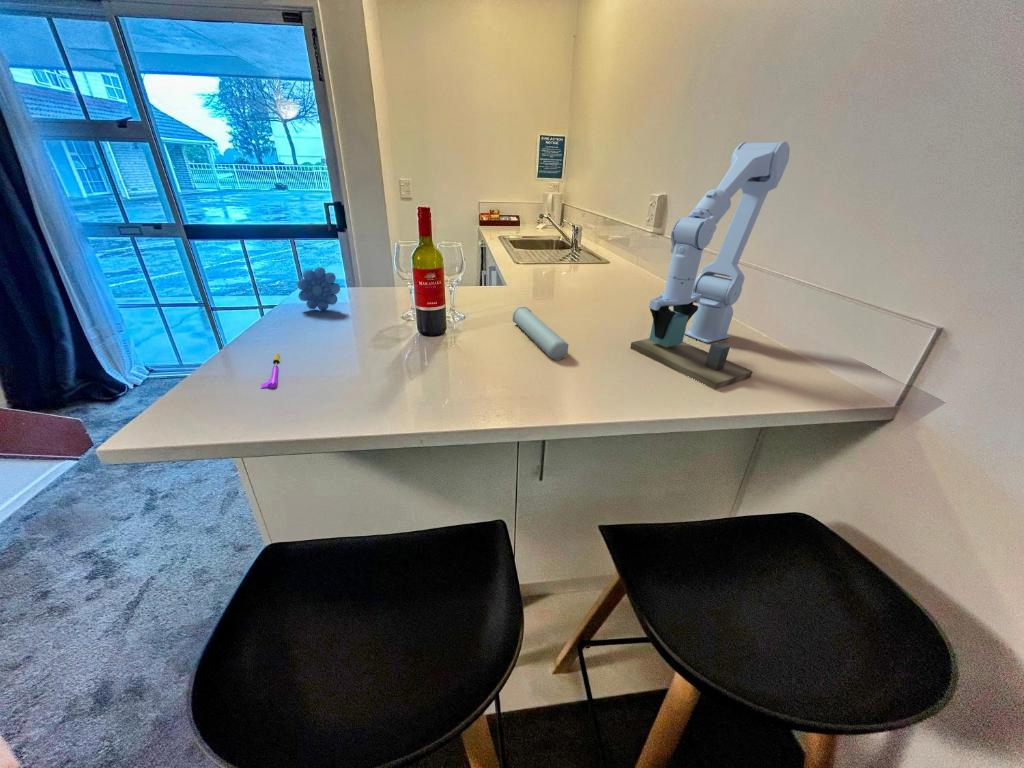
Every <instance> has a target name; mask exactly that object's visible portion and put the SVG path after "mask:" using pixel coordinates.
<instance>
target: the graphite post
mask: <svg viewBox="0 0 1024 768" xmlns="http://www.w3.org/2000/svg"><path fill="white" fill-rule="evenodd" d="M730 348H731V346H729V345H727V344H724V343H722V342H721V341H720V342H719V341H718V342H715V343H711V344H710V347H709V351H708V357H707V360H706V363H705V366H706V367H708V368H710V369H712V370H714V371H717V370H720V369H723V368H724V365H725V362H726V360H728V359H727V357H728V355H729V353H730Z"/></svg>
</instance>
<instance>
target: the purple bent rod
mask: <svg viewBox="0 0 1024 768" xmlns="http://www.w3.org/2000/svg"><path fill="white" fill-rule="evenodd" d="M280 358H281V355H280V352H278V353H275V354H274V357H273V361H272V363H273V364H274V365H273V367H272V369H271V371H272V372H271V378H269V379H268V380H267V382H263V383H261V384H260V385H261V386H260V390H263V389H276V388H278V377H279V376H278V375H279V367H278V366H277V365H278V362H279V363H280Z"/></svg>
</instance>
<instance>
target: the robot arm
mask: <svg viewBox="0 0 1024 768" xmlns="http://www.w3.org/2000/svg"><path fill="white" fill-rule="evenodd" d="M789 159H790V144H789V143H788V141H785V140H784V141H780V142H779V141H778V142H776V141H775V142H746V141H743V142H740V143H739V144H738V145H737V146H736V148H735V149H734V151H733V153H732V155H731V158H730V164H729V166H730V167H729V169H728V171H727V172H726V174H724V177H723V178H722V179H721V180H720V183H719V184H718V186H716V188H715V189H710V190H708V191H707V192H705V194H704V195H703V196H702V198H701V199H700V201H699V202H698V203H697V204H696V205H695V207H693V209H692V210H691V211H690V213H689V214H688V215H687V216H683V217H682V218H680V219H678V220H677V221H676V222H675V223H674V225H673V228H672V230H671V232H670V242H671V247H670V253H671V255H672V256H671V259H670V263H669V267H668V268H669V269H668V274H667V278H666V282H665V287H664V291H663V292H659V293H660V294H659V296H658V297H656V298H651V299H650V302H649V306H648V309H649V310H650V313H651V316H652V321H653V320H654V330H655V337H657V338H659V339H664V337H665V334H666V332H667V328H668V325H669V323H670V321H671V319H672V318H673V316H674V315H675V314H676V313H675V312H678V313H682V314H685V315H688V316H689V317H688V321H687V323H688V322H689V320H690V319H691V318H692V320H691V324H690V327H689V329H685V333H684V336H685V335H686V336H687V337H691V338H693V339H696V340H698V341H701V342H703V343H706V344H709V343H713V342H717V341H718V342H719V341H720V340H725V339H729V338H730V335H729V334H728V332H729V328H730V325H731V323H732V319H733V316H734V308H733V305H735V304H736V303H737V302H738V300H739V298H740V296H741V294H742V289H743V285H744V282H745V274H744V273H743V271H742V270H741V269H740V267H739V266H738V264H739V262H740V259H741V257H742V254H743V252H744V250H745V247H746V246H747V242H748V241H749V238H750V235H751V233H752V231H753V228H754V226H755V224H756V221H757V219H758V216H759V215H760V211H761V210H762V207H763V205H764V202H765V200H766V197H767V195H768V193H769V192H770V191H773V190H774V189H776V188H778V186H779V183H780V182H781V180H782V177H783V175H784V173H785V171H786V168H787V166H788V163H789ZM739 190H742V191H741V192H742V194H741V197H740V199H739V202H738V205H737V207H736V209H735V211H734V214H733V217H732V220H731V222H730V224H729V227H728V229H727V231H726V234H725V236H724V239H723V242H722V243H721V246H720V249H719V251H718V254H717V256H716V259H715V261H712V262H711V263H709V264H707V265H705V266H703V267H702V269H701V271H700V272H699V274H698V271H699V269H700V268H699V266H700V263H701V260H702V255H703V253H704V249H706V248H707V247H708V246H709V245H710V243H711V241H712V239H713V236H714V234H715V232H716V229H717V225H718V223H719V222H720V220H721V219H722V218H723V217H724V216H725V215H726V213H727V212H728V211H729V210H730V208H731V206H732V200H731V199H732V197H734V196H735V194H737V192H739ZM697 275H698V276H697ZM671 307H672V308H673V310H672V311H670V310H671ZM673 311H675V312H673ZM692 316H693V317H692Z"/></svg>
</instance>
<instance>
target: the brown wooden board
mask: <svg viewBox="0 0 1024 768" xmlns="http://www.w3.org/2000/svg"><path fill="white" fill-rule="evenodd" d="M649 339H650V337H649V338H644V339H640V340H636V341H631V343H630V347H629V348H630V349H632V350H633V351H635V352H637V353H639V354H642V355H644V356H646V357H647V358H650V359H652V360H653V361H655V362H657V363H660V364H662V365H663V366H666V367H668V368H669V369H672V370H673V371H676V372H677V373H680V374H682V375H684V376H686V377H688V376H689V377H688V378H691V379H692V378H693V379H692V380H694V379H695V380H694V381H696V380H697V381H696V382H698V381H699V383H700V382H701V383H700V384H702V383H703V385H704V384H705V385H704V386H706V385H707V386H706V387H708V388H710V389H712V390H714V391H715V390H720V389H722V388H724V387H728V386H730V385H734V384H737V383H740V382H742V381H745V380H748V379H751V378H752V376H753V373H754V371H753V370H752V369H751V370H750V369H749V368H746V367H744V366H741V365H739V364H737V363H734V362H732V361H729V360H728V359H726V362H725V365H724V368H723V369H720V370H717V371H714V370H712V369H710V368H708V367H706V366H705V363H706V360H707V357H708V353H709V351H706V350H704V349H702V348H699V347H696V346H694V345H691V344H689V343H687V342H685V341H683V342H682V343H681V344H677V345H674V346H673V347H670V348H664V347H661V346H659V345H657V343H656V342H654V341H652V340H649Z"/></svg>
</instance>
